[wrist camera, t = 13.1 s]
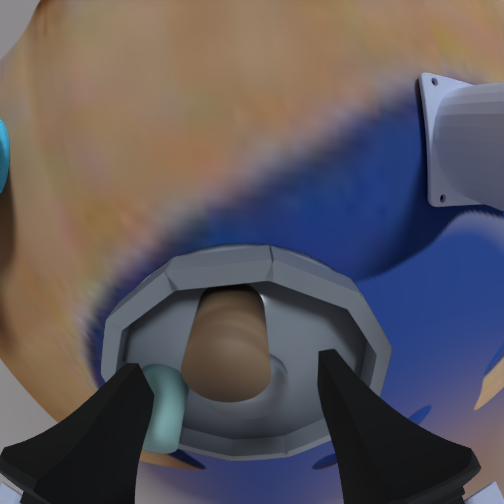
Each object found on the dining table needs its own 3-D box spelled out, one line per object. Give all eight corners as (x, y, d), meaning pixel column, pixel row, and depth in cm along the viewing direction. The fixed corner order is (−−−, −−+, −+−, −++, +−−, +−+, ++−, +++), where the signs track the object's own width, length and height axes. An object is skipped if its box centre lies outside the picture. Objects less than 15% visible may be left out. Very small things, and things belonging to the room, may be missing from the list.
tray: (383, 225, 14) (408, 241, 12) (356, 418, 21) (364, 441, 18) (82, 262, 15) (58, 282, 12) (164, 434, 21) (159, 457, 19)
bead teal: (181, 363, 16) (166, 425, 12) (194, 398, 18) (185, 455, 13) (132, 363, 16) (108, 418, 12) (149, 397, 18) (132, 449, 13)
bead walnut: (260, 276, 14) (267, 336, 10) (267, 332, 15) (274, 398, 11) (191, 284, 14) (169, 344, 10) (205, 338, 16) (193, 403, 11)
